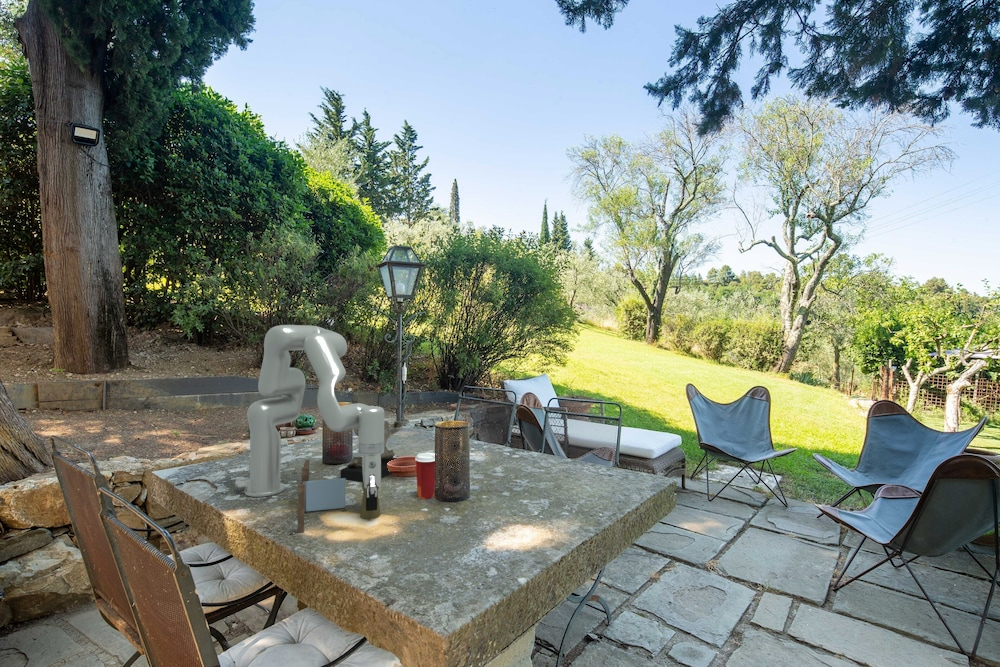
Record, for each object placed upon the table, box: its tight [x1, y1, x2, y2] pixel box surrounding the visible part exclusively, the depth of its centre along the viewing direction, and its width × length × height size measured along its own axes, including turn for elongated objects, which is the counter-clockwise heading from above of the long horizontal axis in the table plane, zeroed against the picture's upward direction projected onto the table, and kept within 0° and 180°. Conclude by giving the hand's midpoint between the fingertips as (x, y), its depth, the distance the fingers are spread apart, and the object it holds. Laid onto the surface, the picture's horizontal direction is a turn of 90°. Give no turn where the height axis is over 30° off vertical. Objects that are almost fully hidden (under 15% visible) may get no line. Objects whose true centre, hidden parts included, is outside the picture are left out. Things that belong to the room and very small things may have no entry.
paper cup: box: [414, 452, 436, 500], centre depth 162 cm, size 8×8×14 cm
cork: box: [359, 478, 381, 520], centre depth 145 cm, size 6×6×11 cm
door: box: [303, 477, 347, 513], centre depth 148 cm, size 1×12×9 cm, turn 109°
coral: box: [339, 418, 410, 483], centre depth 187 cm, size 25×20×22 cm
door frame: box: [297, 459, 310, 534], centre depth 145 cm, size 2×27×13 cm, turn 19°
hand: (370, 504), depth 145 cm, fingers open, 8 cm apart
